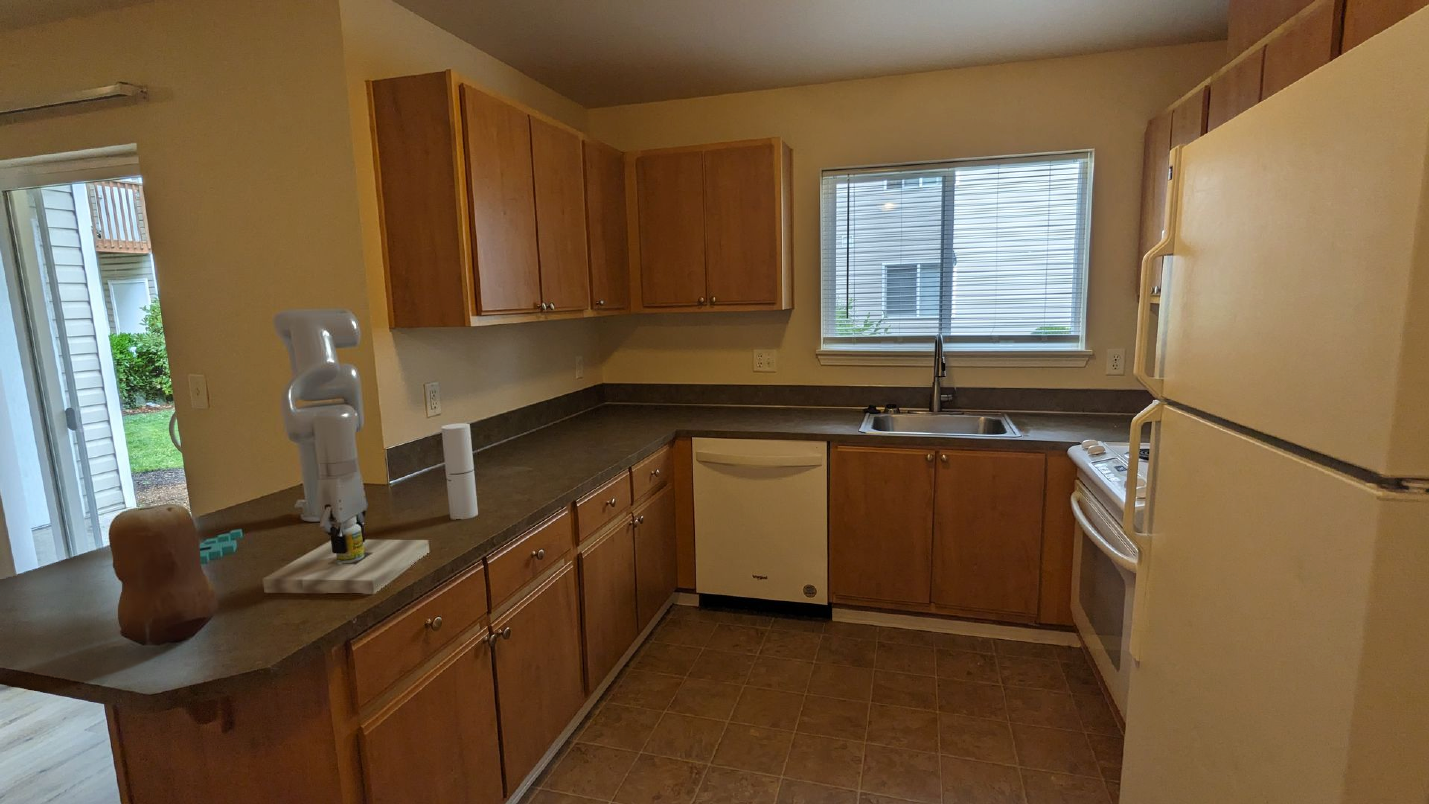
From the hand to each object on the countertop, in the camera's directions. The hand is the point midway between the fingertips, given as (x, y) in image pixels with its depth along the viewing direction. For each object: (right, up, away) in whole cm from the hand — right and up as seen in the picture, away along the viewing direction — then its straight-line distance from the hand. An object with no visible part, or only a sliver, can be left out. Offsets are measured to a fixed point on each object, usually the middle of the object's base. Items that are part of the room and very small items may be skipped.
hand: (349, 546), depth 147 cm
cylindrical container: (+12, +1, +36) cm, 38 cm away
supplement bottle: (0, -3, 0) cm, 3 cm away
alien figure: (-46, -6, +13) cm, 48 cm away
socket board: (0, -6, +1) cm, 6 cm away
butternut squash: (-17, -11, -27) cm, 34 cm away
